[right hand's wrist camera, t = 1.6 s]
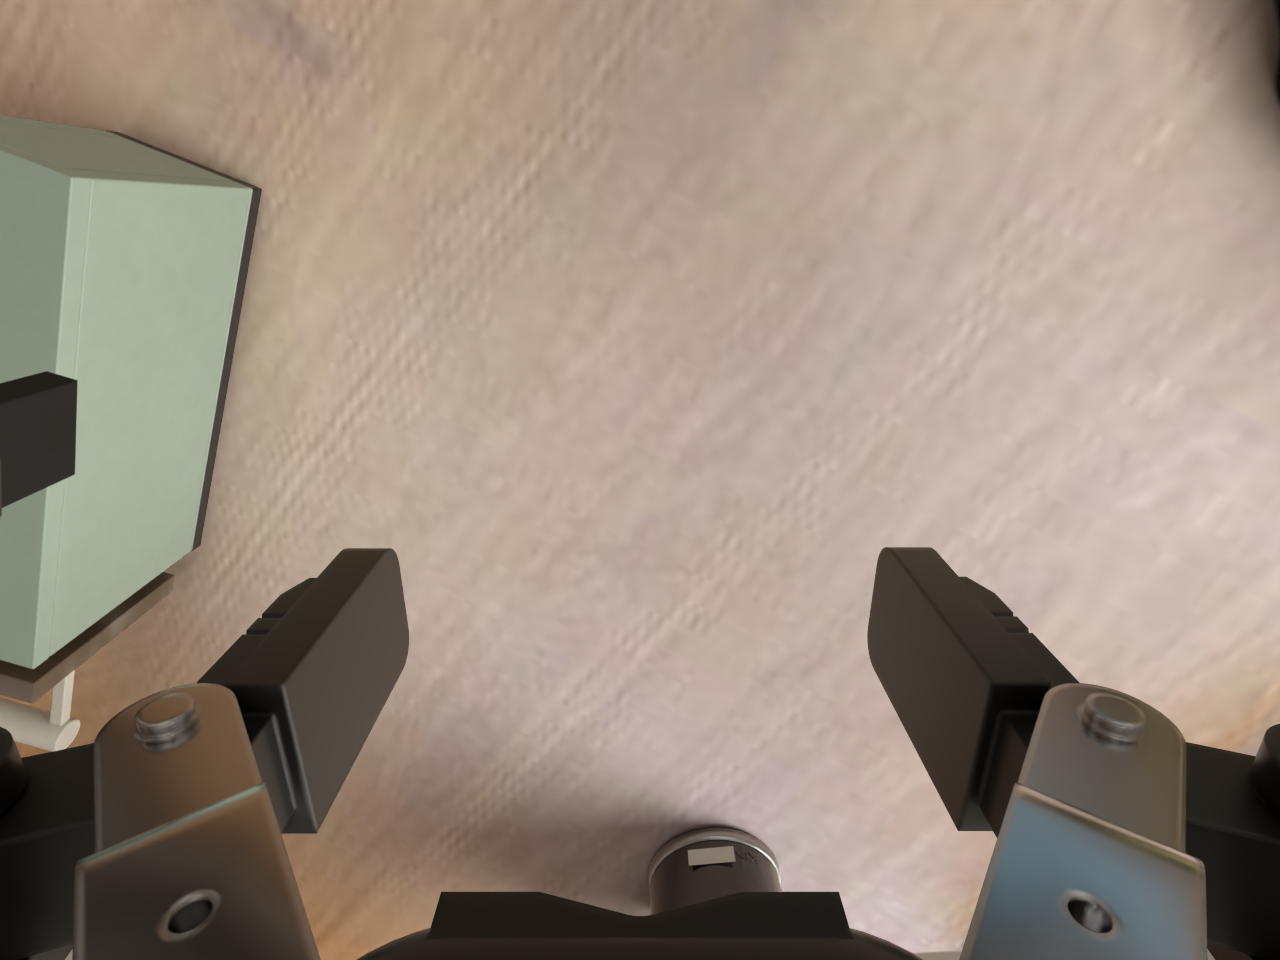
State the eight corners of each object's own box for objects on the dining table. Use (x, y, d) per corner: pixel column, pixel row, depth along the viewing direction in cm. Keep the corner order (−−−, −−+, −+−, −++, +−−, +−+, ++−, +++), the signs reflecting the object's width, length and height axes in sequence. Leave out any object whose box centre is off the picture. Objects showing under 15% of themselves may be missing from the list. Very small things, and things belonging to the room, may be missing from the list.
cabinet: (200, 545, 39) (33, 670, 29) (81, 506, 39) (-137, 621, 28) (261, 189, 32) (72, 176, 22) (118, 132, 32) (-154, 90, 21)
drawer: (160, 668, 41) (25, 796, 32) (67, 641, 41) (-97, 764, 32) (224, 270, 33) (65, 291, 24) (108, 226, 32) (-101, 232, 23)
